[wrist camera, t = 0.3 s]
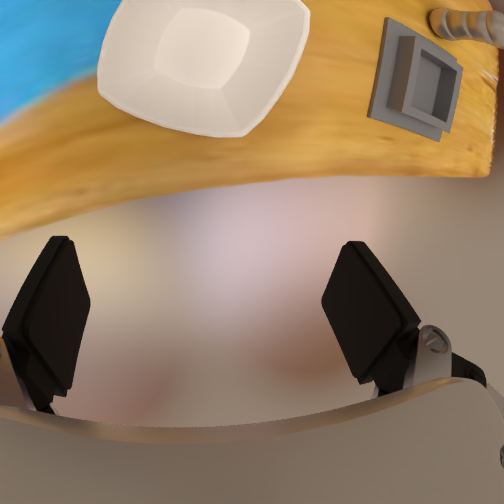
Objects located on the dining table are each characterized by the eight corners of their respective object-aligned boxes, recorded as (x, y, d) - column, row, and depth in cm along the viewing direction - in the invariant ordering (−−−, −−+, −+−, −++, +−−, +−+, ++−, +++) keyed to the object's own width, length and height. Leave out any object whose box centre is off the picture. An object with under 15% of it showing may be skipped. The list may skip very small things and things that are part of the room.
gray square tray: (384, 17, 26) (404, 15, 22) (453, 58, 30) (472, 61, 26) (367, 116, 36) (385, 123, 33) (435, 140, 40) (453, 149, 36)
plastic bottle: (453, 32, 26) (540, 49, 11) (436, 45, 28) (529, 64, 13) (436, 3, 23) (526, 9, 7) (418, 15, 25) (514, 21, 9)
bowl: (305, 18, 26) (331, 7, 20) (241, 140, 36) (251, 158, 30) (164, -32, 19) (155, -56, 12) (102, 98, 29) (78, 106, 22)
